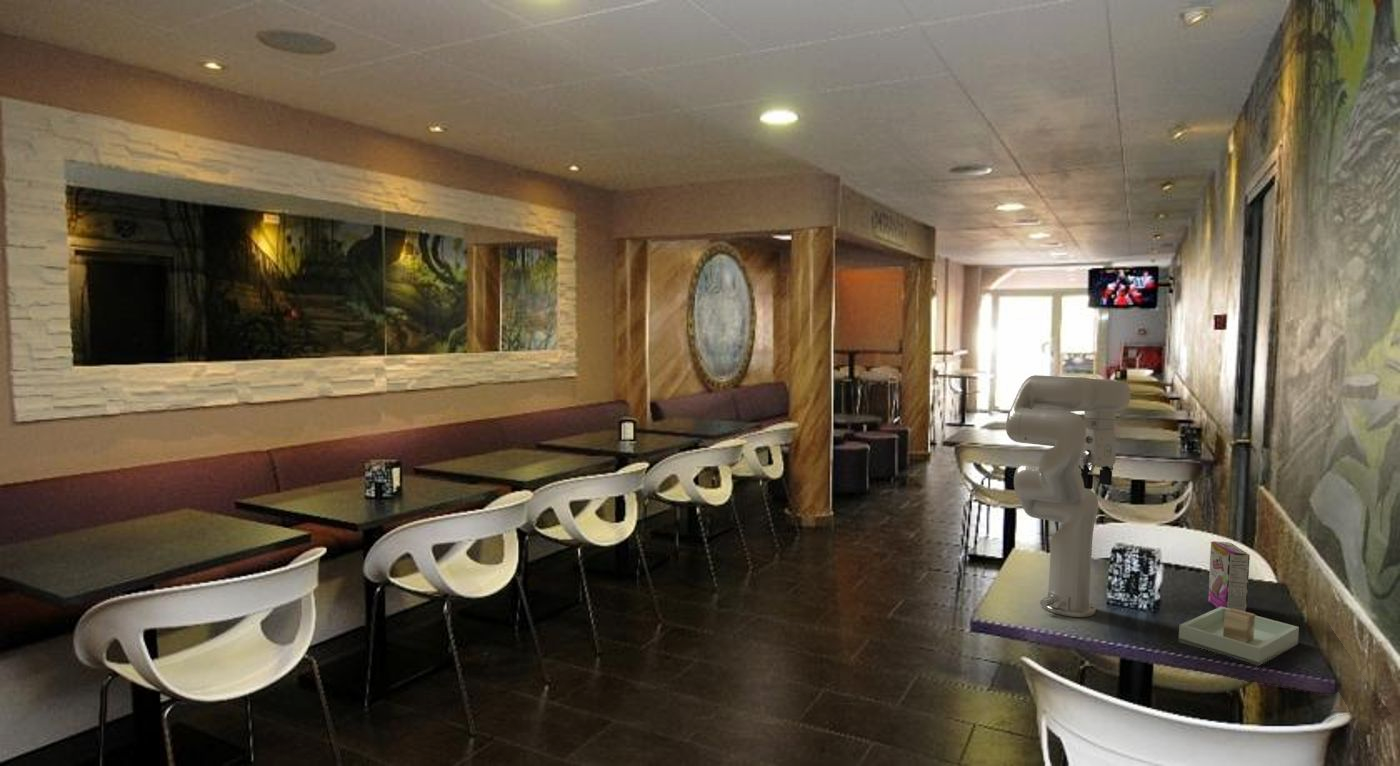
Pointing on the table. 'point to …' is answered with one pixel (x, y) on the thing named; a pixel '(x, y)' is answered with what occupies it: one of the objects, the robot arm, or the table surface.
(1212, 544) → the candy bar box
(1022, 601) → the table surface
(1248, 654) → the tray
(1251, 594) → the table surface
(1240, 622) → the maple block
